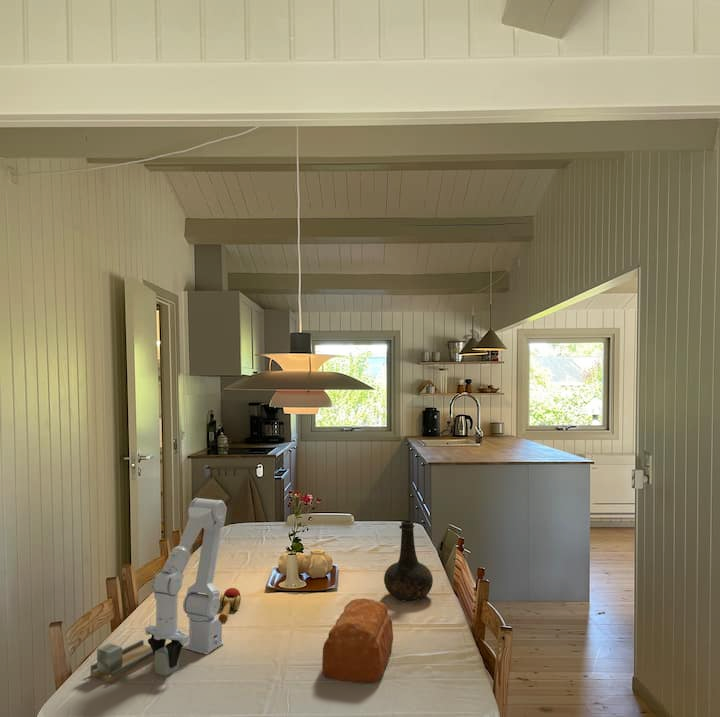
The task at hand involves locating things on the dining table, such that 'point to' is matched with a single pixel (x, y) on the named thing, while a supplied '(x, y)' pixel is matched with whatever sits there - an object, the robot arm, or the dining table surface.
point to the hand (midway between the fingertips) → (166, 664)
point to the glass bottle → (408, 570)
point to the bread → (359, 642)
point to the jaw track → (125, 661)
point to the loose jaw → (163, 662)
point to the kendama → (229, 602)
